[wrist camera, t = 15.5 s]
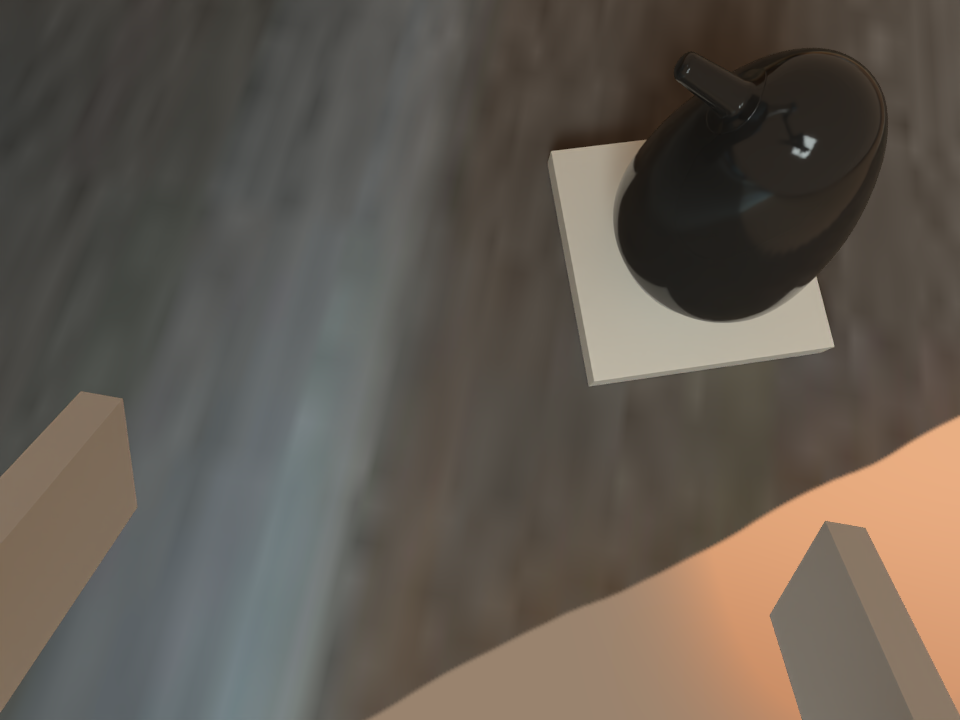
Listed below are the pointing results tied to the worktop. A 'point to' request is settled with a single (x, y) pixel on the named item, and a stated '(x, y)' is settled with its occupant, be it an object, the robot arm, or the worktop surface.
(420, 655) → the worktop surface
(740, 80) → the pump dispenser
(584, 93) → the worktop surface
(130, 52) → the worktop surface
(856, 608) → the robot arm
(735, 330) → the tile pad
